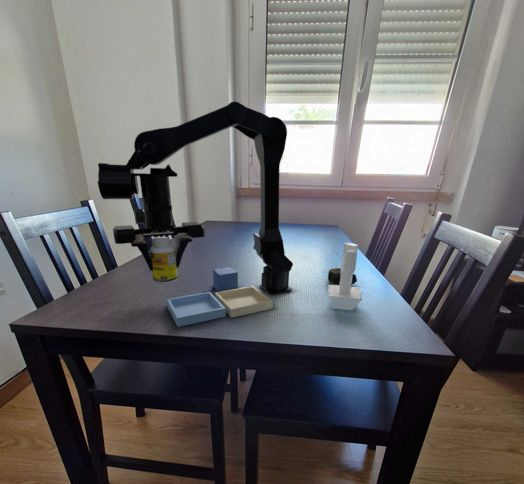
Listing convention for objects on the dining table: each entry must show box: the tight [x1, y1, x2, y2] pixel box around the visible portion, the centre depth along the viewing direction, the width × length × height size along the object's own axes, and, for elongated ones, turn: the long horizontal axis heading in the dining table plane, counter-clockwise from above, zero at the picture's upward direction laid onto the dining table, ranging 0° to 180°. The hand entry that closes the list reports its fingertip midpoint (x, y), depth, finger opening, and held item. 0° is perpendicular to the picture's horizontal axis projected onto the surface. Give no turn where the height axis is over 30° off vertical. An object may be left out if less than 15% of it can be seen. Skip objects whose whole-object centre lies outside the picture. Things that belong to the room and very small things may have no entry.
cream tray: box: [214, 285, 274, 319], centre depth 66 cm, size 10×10×2 cm
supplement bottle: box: [148, 236, 178, 285], centre depth 65 cm, size 6×6×10 cm
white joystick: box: [328, 242, 363, 311], centre depth 64 cm, size 7×9×15 cm
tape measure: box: [327, 267, 358, 286], centre depth 80 cm, size 7×7×4 cm
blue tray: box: [166, 291, 227, 328], centre depth 62 cm, size 10×10×2 cm
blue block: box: [212, 266, 239, 292], centre depth 74 cm, size 5×5×5 cm
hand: (164, 268), depth 66 cm, fingers closed on supplement bottle, 5 cm apart
